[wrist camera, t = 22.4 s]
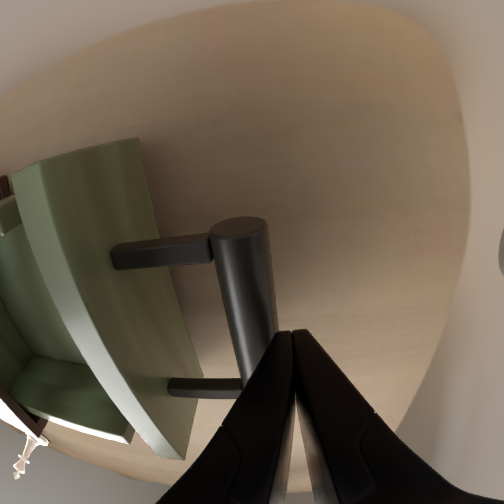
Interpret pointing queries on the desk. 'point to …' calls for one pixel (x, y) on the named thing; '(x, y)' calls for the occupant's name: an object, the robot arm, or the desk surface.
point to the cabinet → (3, 402)
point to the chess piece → (28, 453)
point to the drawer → (118, 300)
